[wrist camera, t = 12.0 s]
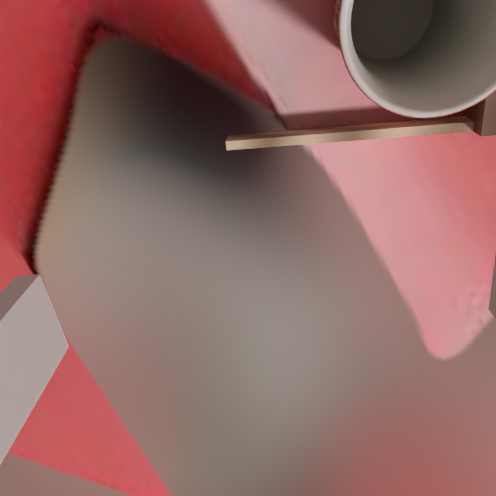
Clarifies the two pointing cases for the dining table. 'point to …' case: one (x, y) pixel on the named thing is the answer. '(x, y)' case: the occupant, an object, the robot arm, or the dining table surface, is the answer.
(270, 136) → the channel
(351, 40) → the mug
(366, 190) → the dining table surface
